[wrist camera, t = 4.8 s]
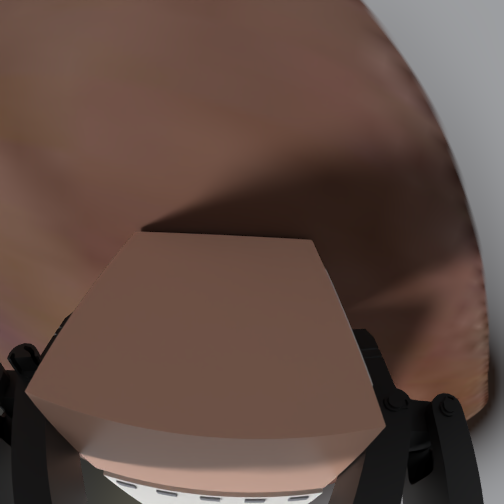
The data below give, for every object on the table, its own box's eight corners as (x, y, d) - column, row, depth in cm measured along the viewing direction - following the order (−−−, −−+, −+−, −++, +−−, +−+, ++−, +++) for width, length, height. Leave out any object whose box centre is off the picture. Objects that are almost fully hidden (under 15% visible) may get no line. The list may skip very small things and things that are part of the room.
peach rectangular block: (135, 231, 12) (24, 391, 4) (311, 239, 13) (386, 426, 5) (148, 316, 14) (95, 467, 6) (295, 324, 15) (323, 487, 7)
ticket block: (146, 337, 16) (102, 476, 7) (300, 346, 16) (325, 494, 8) (186, 461, 26) (180, 526, 18) (264, 466, 26) (267, 531, 18)
